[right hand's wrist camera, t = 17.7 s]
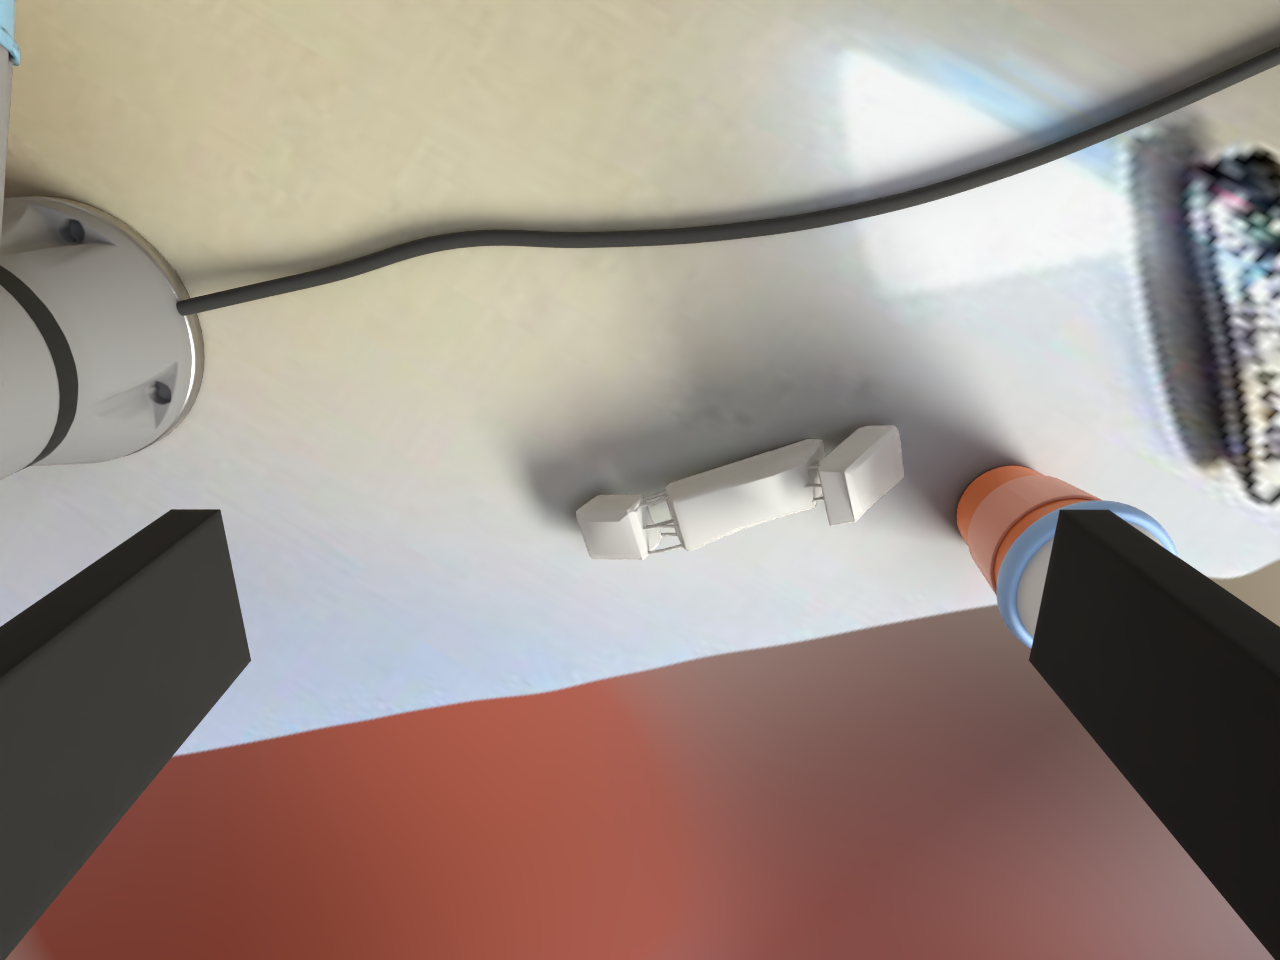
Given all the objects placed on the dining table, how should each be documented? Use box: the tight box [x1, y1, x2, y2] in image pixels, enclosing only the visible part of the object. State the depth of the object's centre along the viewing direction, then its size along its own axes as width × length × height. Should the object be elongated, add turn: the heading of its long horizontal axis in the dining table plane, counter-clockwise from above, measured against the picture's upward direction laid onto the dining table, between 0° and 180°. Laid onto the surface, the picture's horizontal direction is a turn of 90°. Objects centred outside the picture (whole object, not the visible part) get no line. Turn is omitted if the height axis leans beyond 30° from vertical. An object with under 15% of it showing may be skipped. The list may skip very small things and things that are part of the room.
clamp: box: [576, 425, 905, 560], centre depth 47 cm, size 20×4×7 cm, turn 106°
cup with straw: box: [957, 466, 1178, 648], centre depth 42 cm, size 9×9×18 cm
